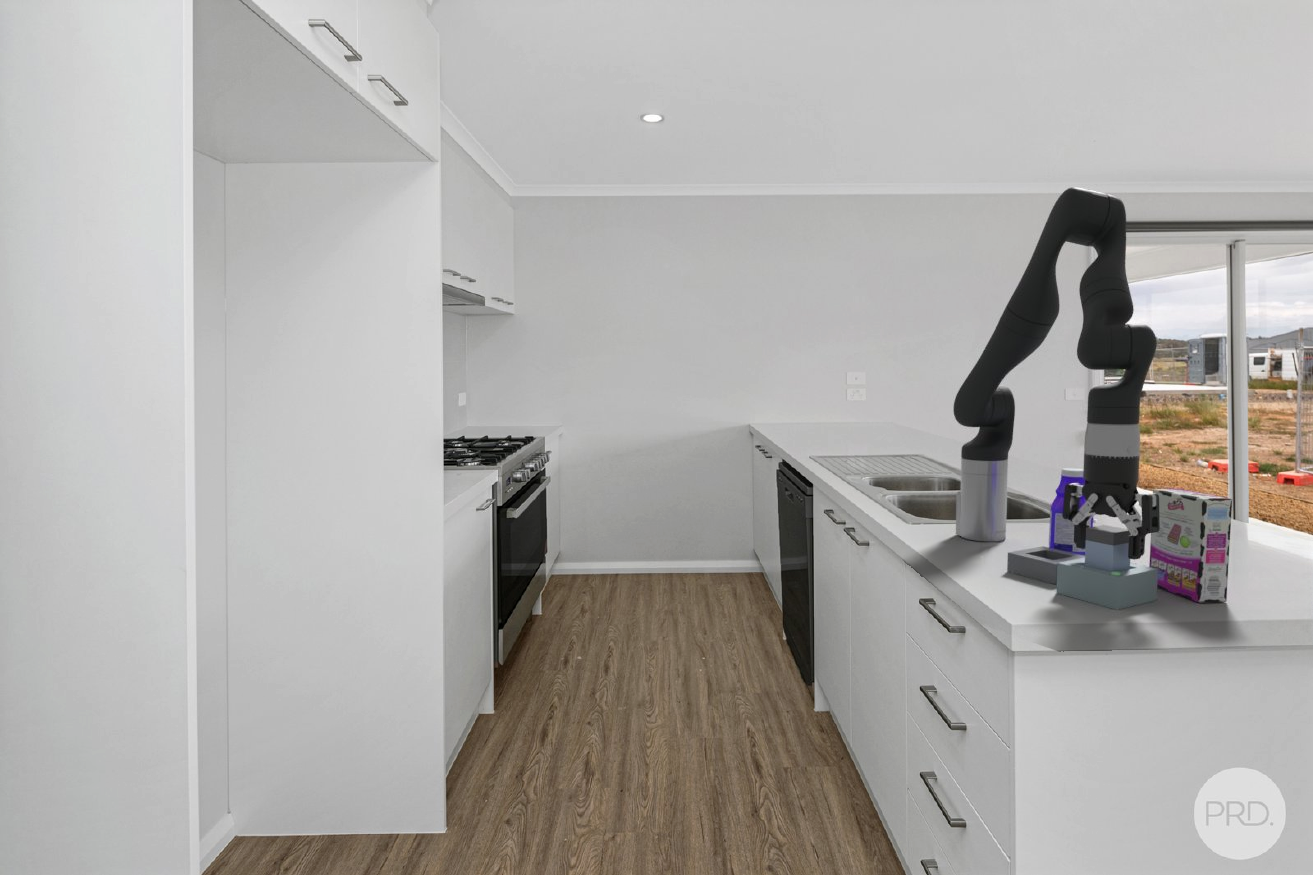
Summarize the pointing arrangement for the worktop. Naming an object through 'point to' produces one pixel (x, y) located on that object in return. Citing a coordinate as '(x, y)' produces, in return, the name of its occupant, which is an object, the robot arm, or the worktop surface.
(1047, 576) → the holster
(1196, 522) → the candy bar box
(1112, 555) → the plug
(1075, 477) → the bottle
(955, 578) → the worktop surface
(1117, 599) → the port
